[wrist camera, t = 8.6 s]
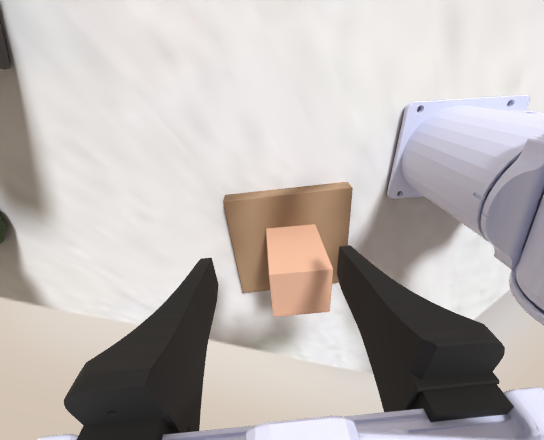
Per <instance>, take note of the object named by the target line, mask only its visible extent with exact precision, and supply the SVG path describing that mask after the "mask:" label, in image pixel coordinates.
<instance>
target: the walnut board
mask: <svg viewBox="0 0 544 440" xmlns="http://www.w3.org/2000/svg"><path fill="white" fill-rule="evenodd" d="M351 199H352V187H351V186H350V185H349V183H348V182H341V183H332V184H323V185H313V186H304V187H295V188H286V189H277V190H267V191H258V192H249V193H240V194H231V195H225V197H224V201H223V203H224V208H225V213H226V217H227V222H228V226H229V231H230V235H231V240H232V244H233V249H234V254H235V258H236V263H237V267H238V272H239V276H240V281H241V285H242V290H243V293H247V292H256V291H265V290H271V289H270V279H269V266H268V250H267V234H266V229H267V228H278V227H290V226H301V225H312V224H315V225H316V227H317V230H318V233H319V235H320V238H321V240H322V243H323V245H324V248H325V250H326V253H327V255H328V258H329V260H330V263H331V265H332V268H333V276H332V283H338V282H339V280H338V276H337V265H338V254H339V246H348V234H349V222H350V211H351Z"/></svg>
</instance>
